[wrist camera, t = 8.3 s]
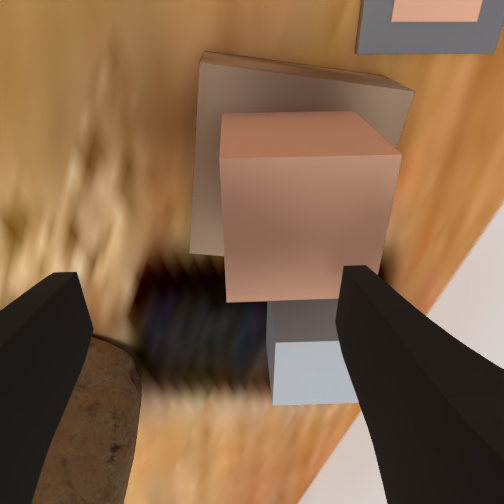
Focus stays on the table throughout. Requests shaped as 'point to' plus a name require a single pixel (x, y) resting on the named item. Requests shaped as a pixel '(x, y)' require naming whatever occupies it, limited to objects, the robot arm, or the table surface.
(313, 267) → the terracotta cube
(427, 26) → the card
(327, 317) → the grey cube
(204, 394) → the table surface
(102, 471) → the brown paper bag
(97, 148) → the table surface
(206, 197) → the walnut base
